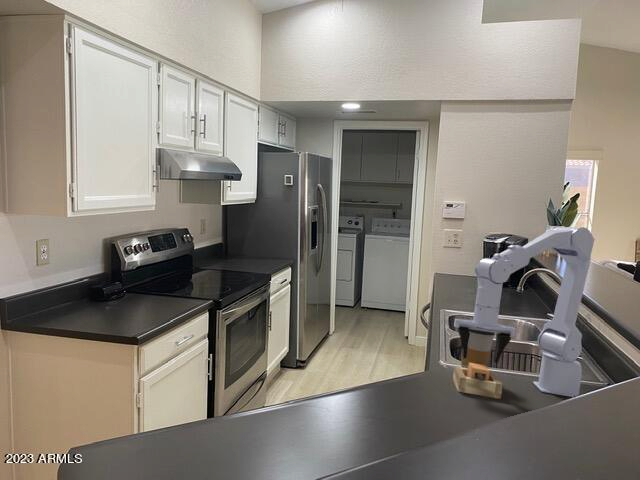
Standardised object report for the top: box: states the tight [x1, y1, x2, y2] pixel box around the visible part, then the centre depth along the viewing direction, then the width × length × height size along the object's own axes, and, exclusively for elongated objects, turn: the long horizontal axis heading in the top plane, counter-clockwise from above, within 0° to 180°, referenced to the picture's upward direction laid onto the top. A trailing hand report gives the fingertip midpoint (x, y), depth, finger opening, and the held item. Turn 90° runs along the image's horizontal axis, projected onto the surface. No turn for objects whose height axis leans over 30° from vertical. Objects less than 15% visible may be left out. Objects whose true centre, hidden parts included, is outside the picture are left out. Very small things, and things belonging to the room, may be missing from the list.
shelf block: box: [452, 366, 504, 399], centre depth 119 cm, size 10×10×5 cm
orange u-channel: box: [467, 363, 491, 380], centre depth 119 cm, size 4×5×5 cm
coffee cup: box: [460, 327, 496, 368], centre depth 129 cm, size 8×8×15 cm
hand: (479, 359), depth 119 cm, fingers open, 7 cm apart
